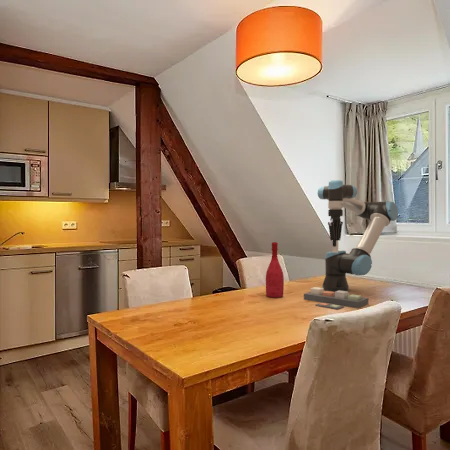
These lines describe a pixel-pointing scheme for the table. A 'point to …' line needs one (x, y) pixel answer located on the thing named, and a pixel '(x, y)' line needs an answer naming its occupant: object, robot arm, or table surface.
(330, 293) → the key terracotta
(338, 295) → the key beige
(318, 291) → the key ivory
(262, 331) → the table surface
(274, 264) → the wine bottle
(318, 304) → the placard
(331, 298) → the keypad
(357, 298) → the key sage
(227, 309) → the table surface
